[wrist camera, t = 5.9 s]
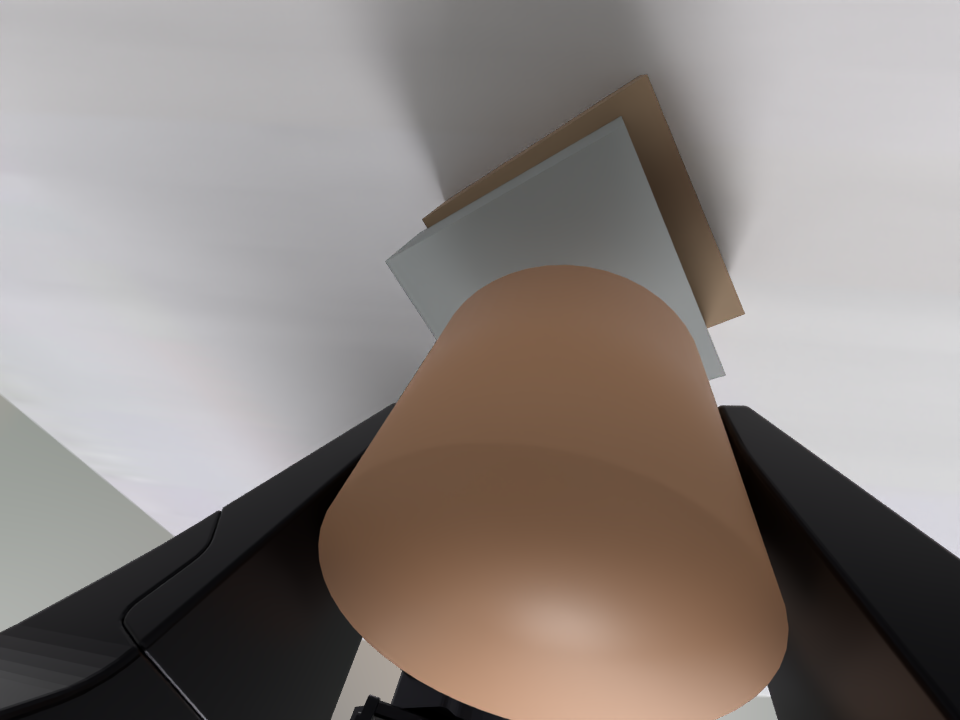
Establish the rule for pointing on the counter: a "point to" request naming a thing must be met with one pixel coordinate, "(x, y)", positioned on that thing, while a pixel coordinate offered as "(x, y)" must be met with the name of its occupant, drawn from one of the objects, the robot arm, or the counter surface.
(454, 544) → the tan rounded lump
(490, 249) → the top slab
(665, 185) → the base slab
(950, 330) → the counter surface
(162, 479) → the counter surface
